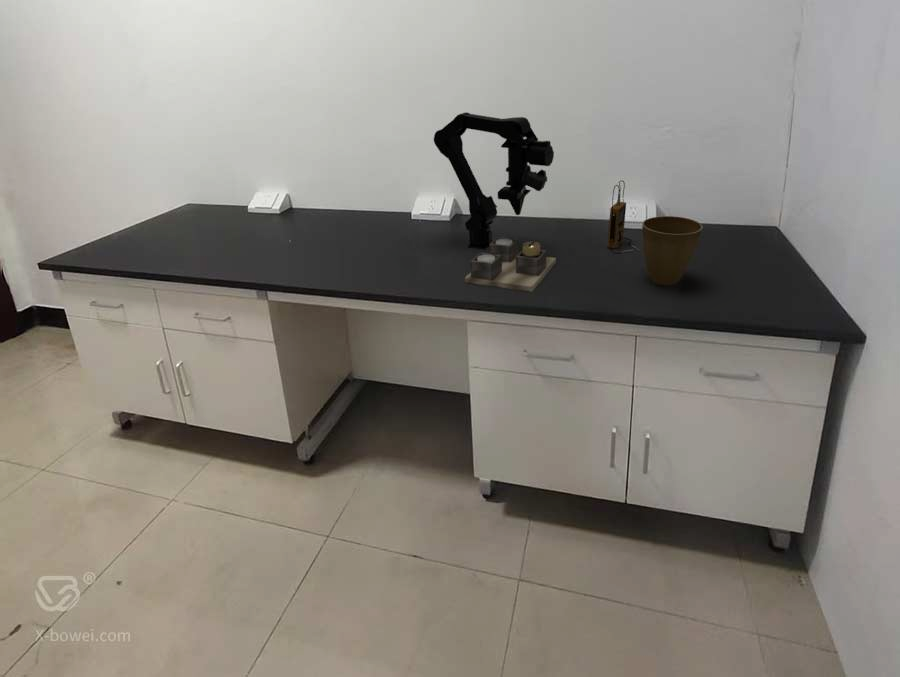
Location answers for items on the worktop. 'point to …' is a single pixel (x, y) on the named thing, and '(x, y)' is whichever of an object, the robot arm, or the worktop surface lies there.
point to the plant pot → (669, 247)
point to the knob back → (504, 242)
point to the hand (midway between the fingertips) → (518, 214)
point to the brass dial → (531, 249)
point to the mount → (510, 268)
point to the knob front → (486, 258)
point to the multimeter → (617, 223)
